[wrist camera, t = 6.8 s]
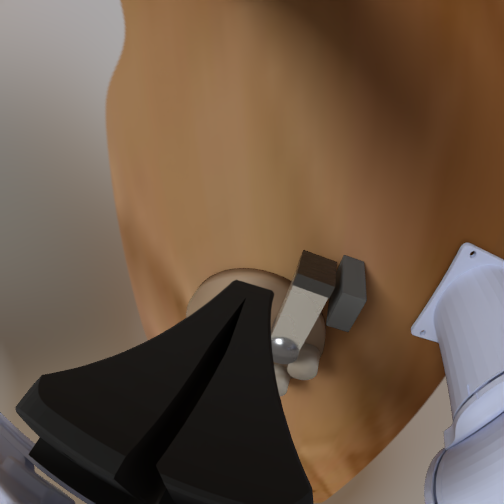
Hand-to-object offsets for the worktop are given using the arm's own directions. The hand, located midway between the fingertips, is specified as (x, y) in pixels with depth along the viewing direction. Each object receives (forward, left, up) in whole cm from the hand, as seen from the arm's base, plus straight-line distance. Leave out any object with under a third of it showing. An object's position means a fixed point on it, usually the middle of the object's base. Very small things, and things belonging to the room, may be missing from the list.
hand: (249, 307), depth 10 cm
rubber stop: (-5, +3, -9) cm, 11 cm away
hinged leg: (-2, +5, -8) cm, 10 cm away
